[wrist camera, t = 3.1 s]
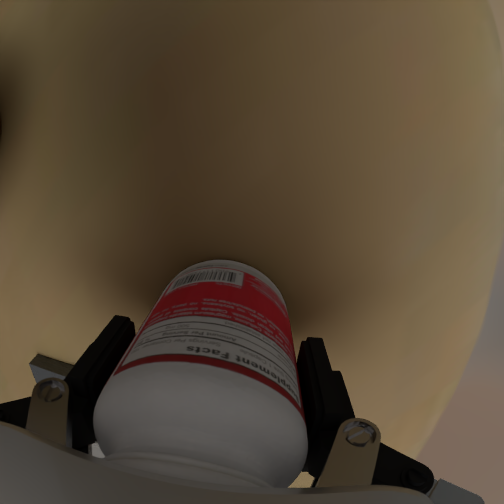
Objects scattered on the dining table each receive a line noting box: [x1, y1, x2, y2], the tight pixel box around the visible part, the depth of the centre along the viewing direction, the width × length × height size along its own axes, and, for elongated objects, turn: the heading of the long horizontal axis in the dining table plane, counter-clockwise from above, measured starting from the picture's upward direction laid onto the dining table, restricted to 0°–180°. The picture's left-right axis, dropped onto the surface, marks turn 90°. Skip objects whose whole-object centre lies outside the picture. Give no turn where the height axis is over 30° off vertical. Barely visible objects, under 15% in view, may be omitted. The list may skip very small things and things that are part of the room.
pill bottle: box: [93, 260, 308, 488], centre depth 9 cm, size 6×6×11 cm
